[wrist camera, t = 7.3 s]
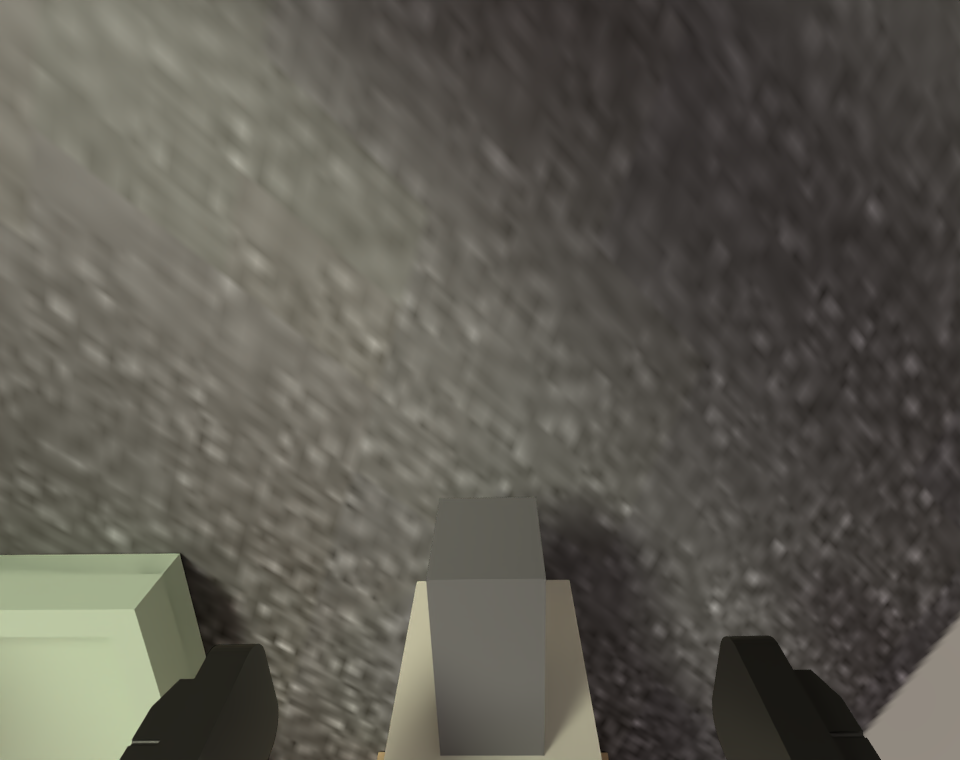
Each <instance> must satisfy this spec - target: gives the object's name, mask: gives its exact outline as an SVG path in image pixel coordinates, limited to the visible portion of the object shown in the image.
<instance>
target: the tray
mask: <svg viewBox="0 0 960 760" xmlns="http://www.w3.org/2000/svg"><path fill="white" fill-rule="evenodd" d="M205 658H206V655H205V651H204V647H203V643H202V639H201V635H200V631H199V628H198V624H197V620H196V616H195V612H194V608H193V604H192V600H191V596H190V592H189V588H188V584H187V581H186V577H185V573H184V569H183V565H182V561H181V557H180V554H72V555H0V760H120V758H121V756H122V755H123V753H124V751H125V750H126V748H127V746H130V745H131V743H132V738H133V736H134V735H135V733H136V731H137V730H138V728H139V727H140V725H141V723H142V722H143V720H144V718H145V717H146V715H147V713H148V712H149V710H150V708H151V707H152V706H153V705H154V704H155V703H156V702H157V701H158V700H159V699H160V698H161V697H162V696H163V695H164V694H165V693H166V692H167V691H168V690H169V689H170V688H171V687H172V686H173V685H174V684H175V683H176V682H177V681H178V680H179V679H194V678H195V676H196V675H197V673H198V671H199V669H200V667H201V666H202V664H203V662H204V660H205Z"/></svg>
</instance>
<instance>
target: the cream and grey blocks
mask: <svg viewBox="0 0 960 760" xmlns="http://www.w3.org/2000/svg"><path fill="white" fill-rule="evenodd" d="M384 760H602V757H601V752H600V746H599V741H598V735H597V730H596V724H595V719H594V713H593V708H592V702H591V697H590V691H589V686H588V680H587V675H586V669H585V664H584V658H583V653H582V647H581V641H580V636H579V630H578V625H577V619H576V614H575V608H574V603H573V597H572V592H571V586H570V581H569V580H546V575H545V567H544V559H543V551H542V543H541V535H540V527H539V519H538V511H537V503H536V497H502V498H440V499H439V505H438V511H437V517H436V523H435V529H434V535H433V541H432V547H431V553H430V559H429V565H428V571H427V577H426V581H417V584H416V590H415V595H414V600H413V606H412V611H411V617H410V622H409V627H408V633H407V638H406V643H405V649H404V654H403V659H402V665H401V670H400V676H399V681H398V686H397V692H396V697H395V702H394V708H393V713H392V718H391V724H390V729H389V734H388V740H387V745H386V751H385V756H384Z"/></svg>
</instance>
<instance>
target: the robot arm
mask: <svg viewBox="0 0 960 760" xmlns="http://www.w3.org/2000/svg"><path fill="white" fill-rule="evenodd" d="M712 710H713V718H714V723H715V728H716V732H717V735H718V738H719V741H720V744H721V746H722V749H723V752H724V754H725V757H726V759H727V760H881V759H880V758H879V756H878V754H877V753H876V751H875V750H874V748H873V746H872V745H871V743H870V742H869V740H868V739H867V738H865V737H864V736H863V731H862V729H861V728H860V726H859V724H858V723H857V721H856V720H855V718H854V717H853V715H852V713H851V712H850V710H849V709H848V707H847V706H846V704H845V702H844V701H843V699H842V698H841V697H840V696H839V695H838V694H837V693H836V692H835V691H834V690H832V689H831V688H830V687H829V686H828V685H827V684H826V683H825V682H824V681H823V680H821V679H820V678H819V677H818V676H817V675H816V674H815V673H814V672H813V671H812V670H793V669H792V667H791V665H790V663H789V662H788V660H787V658H786V657H785V655H784V653H783V651H782V650H781V648H780V646H779V645H778V643H777V642H776V641H775V639H774V638H772V637H771V636H725V637H724V638H723V639H722V641H721V645H720V652H719V658H718V664H717V671H716V677H715V684H714V690H713V697H712ZM277 725H278V703H277V698H276V694H275V690H274V686H273V682H272V678H271V674H270V670H269V666H268V662H267V658H266V654H265V651H264V648H263V646H262V645H260V644H230V645H216V646H214V647H213V648H212V649H211V650H210V652H209V653H208V655H207V657H206V658H205V660H204V662H203V664H202V666H201V667H200V669H199V671H198V673H197V675H196V676H195V678H194V679H179V680H178V681H177V682H176V683H175V684H174V685H173V686H172V687H171V688H170V689H169V690H168V691H167V692H166V693H165V694H164V695H163V696H162V697H161V698H160V699H159V700H158V701H157V702H156V703H155V704H154V705H153V706H152V707H151V708H150V710H149V712H148V713H147V715H146V717H145V718H144V720H143V722H142V723H141V725H140V727H139V728H138V730H137V731H136V733H135V735H134V736H133V738H132V743H131V745H130V746H127V748H126V750H125V751H124V753H123V755H122V756H121V758H120V760H268V758H269V755H270V752H271V749H272V747H273V744H274V740H275V736H276V732H277Z"/></svg>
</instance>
